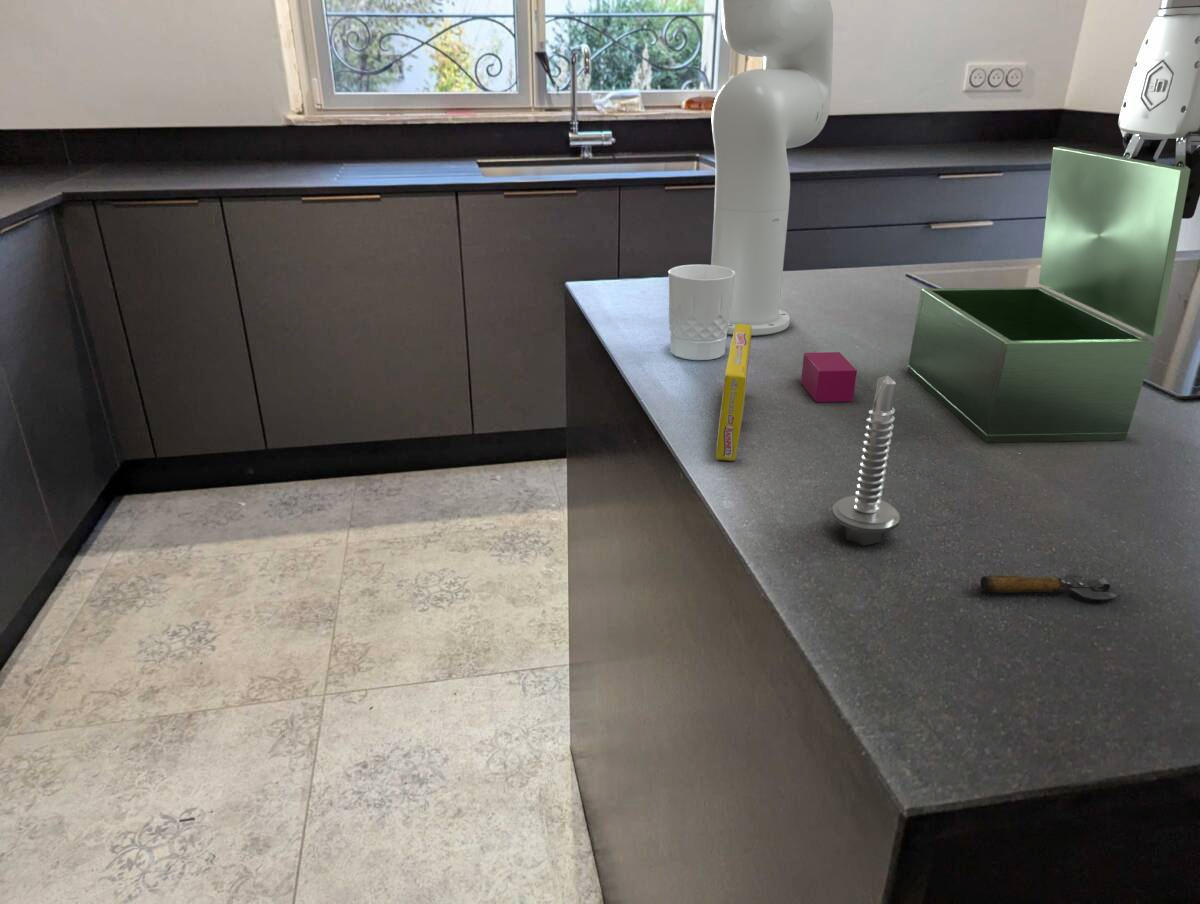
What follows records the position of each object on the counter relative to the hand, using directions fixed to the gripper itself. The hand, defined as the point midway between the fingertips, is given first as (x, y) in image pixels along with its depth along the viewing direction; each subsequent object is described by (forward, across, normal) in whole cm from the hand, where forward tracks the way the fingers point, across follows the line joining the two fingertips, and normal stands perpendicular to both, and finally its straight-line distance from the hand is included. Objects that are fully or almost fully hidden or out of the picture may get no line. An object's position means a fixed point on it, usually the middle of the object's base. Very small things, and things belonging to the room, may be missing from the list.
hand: (1152, 210), depth 79 cm
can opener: (+20, +34, -24) cm, 46 cm away
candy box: (+20, +5, -40) cm, 45 cm away
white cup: (+20, -18, -40) cm, 48 cm away
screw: (+20, +26, -34) cm, 47 cm away
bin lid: (+2, 0, -5) cm, 5 cm away
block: (+20, -4, -28) cm, 34 cm away
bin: (+20, 0, -10) cm, 22 cm away
